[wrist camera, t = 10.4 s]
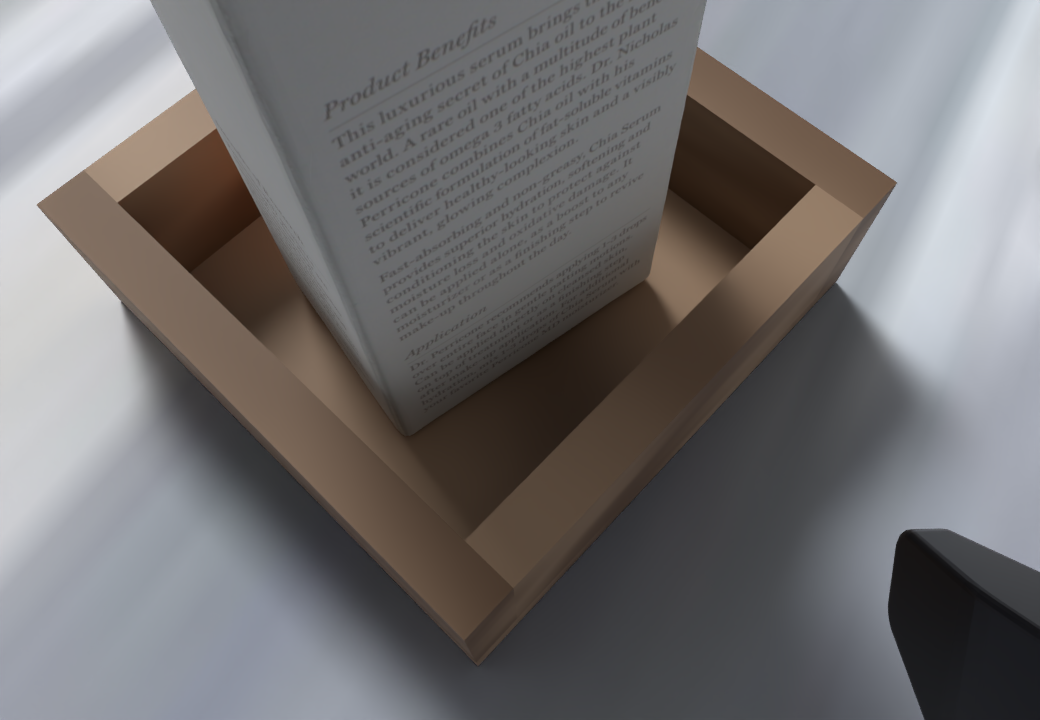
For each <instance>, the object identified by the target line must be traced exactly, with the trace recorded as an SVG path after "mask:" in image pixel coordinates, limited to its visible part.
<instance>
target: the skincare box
mask: <svg viewBox="0 0 1040 720" xmlns="http://www.w3.org/2000/svg"><path fill="white" fill-rule="evenodd" d="M150 1H151V3H152V5H153V7H154V9H155V11H156V13H157V15H158V17H159V19H160V20H161V22H162V24H163V26H164V28H165V30H166V32H167V34H168V36H169V38H170V40H171V42H172V44H173V46H174V48H175V50H176V51H177V53H178V55H179V57H180V59H181V61H182V63H183V65H184V67H185V69H186V71H187V72H188V74H189V76H190V78H191V80H192V82H193V84H194V86H195V88H196V90H197V92H198V93H199V95H200V97H201V99H202V101H203V103H204V105H205V107H206V109H207V111H208V112H209V114H210V116H211V118H212V120H213V122H214V124H215V126H216V128H217V130H218V132H219V134H220V136H221V138H222V140H223V142H224V144H225V146H226V148H227V150H228V152H229V154H230V155H231V157H232V159H233V161H234V163H235V165H236V167H237V169H238V171H239V173H240V175H241V177H242V179H243V181H244V182H245V184H246V186H247V188H248V190H249V192H250V194H251V196H252V198H253V200H254V202H255V204H256V206H257V208H258V210H259V212H260V213H261V215H262V217H263V219H264V221H265V223H266V225H267V227H268V229H269V231H270V233H271V235H272V237H273V239H274V240H275V242H276V244H277V246H278V248H279V250H280V252H281V254H282V256H283V258H284V260H285V262H286V264H287V266H288V268H289V270H290V272H291V274H292V276H293V278H294V279H295V281H296V283H297V285H298V286H299V287H300V289H301V290H302V292H303V293H304V295H305V296H306V297H307V299H308V300H309V302H310V303H311V305H312V306H313V308H314V309H315V310H316V312H317V313H318V315H319V316H320V318H321V319H322V321H323V322H324V323H325V325H326V326H327V328H328V329H329V331H330V332H331V334H332V335H333V337H334V338H335V340H336V341H337V343H338V344H339V346H340V347H341V349H342V350H343V352H344V353H345V355H346V356H347V358H348V359H349V361H350V362H351V364H352V365H353V367H354V368H355V369H356V371H357V372H358V374H359V375H360V377H361V378H362V380H363V381H364V383H365V384H366V386H367V387H368V389H369V390H370V392H371V393H372V394H373V396H374V397H375V399H376V400H377V402H378V403H379V405H380V406H381V407H382V409H383V410H384V412H385V413H386V415H387V416H388V418H389V419H390V420H391V422H392V423H393V424H394V426H395V427H396V428H397V429H398V431H399V432H400V433H401V434H403V435H404V436H411V435H413V434H414V433H416V432H417V431H419V430H420V429H422V428H423V427H424V426H426V425H427V424H429V423H430V422H432V421H433V420H435V419H436V418H438V417H439V416H441V415H442V414H444V413H445V412H447V411H448V410H450V409H451V408H453V407H454V406H456V405H457V404H459V403H460V402H462V401H463V400H465V399H466V398H468V397H469V396H471V395H472V394H474V393H475V392H477V391H478V390H480V389H481V388H483V387H484V386H486V385H487V384H489V383H490V382H492V381H493V380H495V379H496V378H498V377H499V376H501V375H502V374H504V373H505V372H507V371H508V370H510V369H511V368H513V367H514V366H516V365H517V364H519V363H521V362H522V361H524V360H525V359H527V358H528V357H530V356H531V355H533V354H534V353H535V352H537V351H538V350H540V349H541V348H543V347H544V346H546V345H547V344H549V343H550V342H552V341H553V340H555V339H556V338H558V337H559V336H561V335H562V334H564V333H565V332H567V331H568V330H570V329H571V328H573V327H574V326H576V325H577V324H579V323H580V322H582V321H583V320H585V319H586V318H588V317H589V316H591V315H592V314H594V313H595V312H597V311H598V310H600V309H601V308H603V307H604V306H605V305H607V304H608V303H610V302H611V301H613V300H615V299H616V298H618V297H619V296H621V295H622V294H624V293H626V292H627V291H629V290H630V289H632V288H633V287H635V286H636V285H638V284H639V283H641V282H643V281H644V280H645V279H646V278H647V277H648V276H649V274H650V271H651V266H652V260H653V256H654V251H655V246H656V242H657V239H658V233H659V228H660V223H661V219H662V214H663V209H664V204H665V200H666V195H667V190H668V185H669V179H670V174H671V169H672V165H673V160H674V154H675V149H676V145H677V140H678V135H679V130H680V125H681V120H682V116H683V112H684V107H685V101H686V96H687V92H688V88H689V83H690V79H691V74H692V69H693V64H694V59H695V55H696V50H697V44H698V38H699V34H700V29H701V24H702V20H703V15H704V11H705V6H706V2H707V0H150Z"/></svg>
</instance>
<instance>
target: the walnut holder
mask: <svg viewBox="0 0 1040 720" xmlns="http://www.w3.org/2000/svg"><path fill="white" fill-rule="evenodd" d="M896 184H897V182H896V181H894V180H893V179H891V178H890V177H888V176H887V175H885V174H884V173H882V172H881V171H879V170H878V169H876V168H875V167H873V166H872V165H871V164H869V163H868V162H866V161H865V160H863V159H862V158H860V157H859V156H857V155H856V154H854V153H853V152H851V151H850V150H848V149H847V148H845V147H844V146H843V145H841V144H840V143H838V142H837V141H835V140H834V139H832V138H831V137H829V136H828V135H826V134H825V133H823V132H822V131H820V130H819V129H817V128H816V127H815V126H813V125H812V124H810V123H809V122H807V121H806V120H804V119H803V118H801V117H800V116H798V115H797V114H795V113H794V112H792V111H791V110H789V109H788V108H787V107H785V106H784V105H782V104H781V103H779V102H778V101H776V100H775V99H773V98H772V97H770V96H769V95H767V94H766V93H764V92H763V91H761V90H760V89H758V88H757V87H756V86H754V85H753V84H751V83H750V82H748V81H747V80H745V79H744V78H742V77H741V76H739V75H738V74H736V73H735V72H733V71H732V70H730V69H729V68H728V67H726V66H725V65H723V64H722V63H720V62H719V61H717V60H716V59H714V58H713V57H711V56H710V55H708V54H707V53H705V52H704V51H702V50H701V49H700V48H698V47H697V50H696V55H695V59H694V64H693V69H692V74H691V79H690V83H689V88H688V92H687V96H686V101H685V107H684V112H683V116H682V120H681V125H680V130H679V135H678V140H677V145H676V149H675V154H674V160H673V165H672V169H671V174H670V179H669V185H668V190H667V195H666V200H665V204H664V209H663V214H662V219H661V223H660V228H659V233H658V239H657V242H656V246H655V251H654V256H653V260H652V266H651V271H650V274H649V276H648V277H647V278H646V279H645V280H644V281H643V282H641V283H639V284H638V285H636V286H635V287H633V288H632V289H630V290H629V291H627V292H626V293H624V294H622V295H621V296H619V297H618V298H616V299H615V300H613V301H611V302H610V303H608V304H607V305H605V306H604V307H603V308H601V309H600V310H598V311H597V312H595V313H594V314H592V315H591V316H589V317H588V318H586V319H585V320H583V321H582V322H580V323H579V324H577V325H576V326H574V327H573V328H571V329H570V330H568V331H567V332H565V333H564V334H562V335H561V336H559V337H558V338H556V339H555V340H553V341H552V342H550V343H549V344H547V345H546V346H544V347H543V348H541V349H540V350H538V351H537V352H535V353H534V354H533V355H531V356H530V357H528V358H527V359H525V360H524V361H522V362H521V363H519V364H517V365H516V366H514V367H513V368H511V369H510V370H508V371H507V372H505V373H504V374H502V375H501V376H499V377H498V378H496V379H495V380H493V381H492V382H490V383H489V384H487V385H486V386H484V387H483V388H481V389H480V390H478V391H477V392H475V393H474V394H472V395H471V396H469V397H468V398H466V399H465V400H463V401H462V402H460V403H459V404H457V405H456V406H454V407H453V408H451V409H450V410H448V411H447V412H445V413H444V414H442V415H441V416H439V417H438V418H436V419H435V420H433V421H432V422H430V423H429V424H427V425H426V426H424V427H423V428H422V429H420V430H419V431H417V432H416V433H414V434H413V435H411V436H404V435H403V434H401V433H400V432H399V431H398V429H397V428H396V427H395V426H394V424H393V423H392V422H391V420H390V419H389V418H388V416H387V415H386V413H385V412H384V410H383V409H382V407H381V406H380V405H379V403H378V402H377V400H376V399H375V397H374V396H373V394H372V393H371V392H370V390H369V389H368V387H367V386H366V384H365V383H364V381H363V380H362V378H361V377H360V375H359V374H358V372H357V371H356V369H355V368H354V367H353V365H352V364H351V362H350V361H349V359H348V358H347V356H346V355H345V353H344V352H343V350H342V349H341V347H340V346H339V344H338V343H337V341H336V340H335V338H334V337H333V335H332V334H331V332H330V331H329V329H328V328H327V326H326V325H325V323H324V322H323V321H322V319H321V318H320V316H319V315H318V313H317V312H316V310H315V309H314V308H313V306H312V305H311V303H310V302H309V300H308V299H307V297H306V296H305V295H304V293H303V292H302V290H301V289H300V287H299V286H298V285H297V283H296V281H295V279H294V278H293V276H292V274H291V272H290V270H289V268H288V266H287V264H286V262H285V260H284V258H283V256H282V254H281V252H280V250H279V248H278V246H277V244H276V242H275V240H274V239H273V237H272V235H271V233H270V231H269V229H268V227H267V225H266V223H265V221H264V219H263V217H262V215H261V213H260V212H259V210H258V208H257V206H256V204H255V202H254V200H253V198H252V196H251V194H250V192H249V190H248V188H247V186H246V184H245V182H244V181H243V179H242V177H241V175H240V173H239V171H238V169H237V167H236V165H235V163H234V161H233V159H232V157H231V155H230V154H229V152H228V150H227V148H226V146H225V144H224V142H223V140H222V138H221V136H220V134H219V132H218V130H217V128H216V126H215V124H214V122H213V120H212V118H211V116H210V114H209V112H208V111H207V109H206V107H205V105H204V103H203V101H202V99H201V97H200V95H199V93H198V92H197V90H196V89H195V90H193V91H192V92H190V93H189V94H188V95H186V96H185V97H184V98H182V99H181V100H179V101H178V102H177V103H175V104H174V105H173V106H171V107H170V108H168V109H167V110H166V111H164V112H163V113H162V114H160V115H159V116H157V117H156V118H155V119H153V120H152V121H151V122H149V123H148V124H146V125H145V126H144V127H142V128H141V129H140V130H138V131H137V132H136V133H134V134H133V135H131V136H130V137H129V138H127V139H126V140H125V141H123V142H122V143H120V144H119V145H118V146H116V147H115V148H114V149H112V150H111V151H109V152H108V153H107V154H105V155H104V156H103V157H101V158H100V159H98V160H97V161H96V162H94V163H93V164H92V165H90V166H89V167H88V168H86V169H85V170H83V171H82V172H81V173H79V174H78V175H77V176H75V177H74V178H72V179H71V180H70V181H68V182H67V183H66V184H64V185H63V186H61V187H60V188H59V189H57V190H56V191H55V192H53V193H52V194H50V195H49V196H48V197H46V198H45V199H44V200H42V201H41V202H39V203H38V204H37V206H38V207H39V208H40V209H41V211H42V212H43V213H44V214H45V215H46V216H47V217H48V219H49V220H50V221H51V222H52V223H53V224H54V225H55V227H56V228H57V229H58V230H59V231H60V232H61V233H62V234H63V236H64V237H65V238H66V239H67V240H68V241H69V242H70V244H71V245H72V246H73V247H74V248H75V249H76V250H77V252H78V253H79V254H80V255H81V256H82V257H83V258H84V260H85V261H86V262H87V263H88V264H89V265H90V266H91V267H92V269H93V270H94V271H95V272H96V273H97V274H98V275H99V277H100V278H101V279H102V280H103V281H104V282H105V283H106V285H107V286H108V287H109V288H110V289H111V290H112V291H113V293H114V294H115V295H116V296H117V297H118V298H119V299H120V300H121V301H122V302H123V303H124V304H125V305H126V306H127V307H128V309H129V310H130V311H131V312H132V313H133V314H134V315H135V316H136V317H137V318H138V319H139V320H140V321H141V322H142V323H143V324H144V325H145V326H146V327H147V328H148V329H149V330H150V331H151V332H152V333H153V334H154V335H155V336H156V337H157V338H158V339H159V340H160V341H161V342H162V343H163V344H164V345H165V346H166V347H167V348H168V349H169V350H170V352H171V353H172V354H173V355H174V356H175V357H176V358H177V359H178V360H179V361H180V362H181V363H182V364H183V365H184V366H185V367H186V368H187V369H188V370H189V371H190V372H191V373H192V374H193V375H194V376H195V377H196V378H197V379H198V380H199V381H200V382H201V383H202V384H203V385H204V386H205V387H206V388H207V389H208V390H209V391H210V392H211V393H212V394H213V396H214V397H215V398H216V399H217V400H218V401H219V402H220V403H221V404H222V405H223V406H224V407H225V408H226V409H227V410H228V411H229V412H230V413H231V414H232V415H233V416H234V417H235V418H236V419H237V420H238V421H239V422H240V423H241V424H242V425H243V426H244V427H245V428H246V429H247V430H248V431H249V432H250V433H251V434H252V435H253V436H254V437H255V439H256V440H257V441H258V442H259V443H260V444H261V445H262V446H263V447H264V448H265V449H266V450H267V451H268V452H269V453H270V454H271V455H272V456H273V457H274V458H275V459H276V460H277V461H278V462H279V463H280V464H281V465H282V466H283V467H284V468H285V469H286V470H287V471H288V472H289V473H290V474H291V475H292V476H293V477H294V478H295V479H296V480H297V482H298V483H299V484H300V485H301V486H302V487H303V488H304V489H305V490H306V491H307V492H308V493H309V494H310V495H311V496H312V497H313V498H314V499H315V500H316V501H317V502H318V503H319V504H320V505H321V506H322V507H323V508H324V509H325V510H326V511H327V512H328V513H329V514H330V515H331V516H332V517H333V518H334V519H335V520H336V521H337V522H338V523H339V525H340V526H341V527H342V528H343V529H344V530H345V531H346V532H347V533H348V534H349V535H350V536H351V537H352V538H353V539H354V540H355V541H356V542H357V543H358V544H359V545H360V546H361V547H362V548H363V549H364V550H365V551H366V552H367V553H368V554H369V555H370V556H371V557H372V558H373V559H374V560H375V561H376V562H377V563H378V564H379V565H380V566H381V568H382V569H383V570H384V571H385V572H386V573H387V574H388V575H389V576H390V577H391V578H392V579H393V580H394V581H395V582H396V583H397V584H398V585H399V586H400V587H401V588H402V589H403V590H404V591H405V592H406V593H407V594H408V595H409V596H410V597H411V598H412V599H413V600H414V601H415V602H416V603H417V604H418V605H419V606H420V607H421V608H422V609H423V611H424V612H425V613H426V614H427V615H428V616H429V617H430V618H431V619H432V620H433V621H434V622H435V623H436V624H437V625H438V626H439V627H440V628H441V629H442V630H443V631H444V632H445V633H446V634H447V635H448V636H449V637H450V638H451V639H452V640H453V641H454V642H455V643H456V644H457V645H458V646H459V647H460V648H461V649H462V650H463V651H464V652H465V653H466V655H467V656H468V657H469V658H470V659H471V660H472V661H473V662H474V663H475V664H476V665H477V666H479V665H480V664H481V663H482V662H483V661H484V660H485V658H486V657H487V656H488V655H489V654H490V653H491V652H492V651H493V650H494V649H495V648H496V647H497V646H498V644H499V643H500V642H501V641H502V640H503V639H504V638H505V637H506V636H507V635H508V634H509V633H510V632H511V630H512V629H513V628H514V627H515V626H516V625H517V624H518V623H519V622H520V621H521V620H522V619H523V618H524V617H525V615H526V614H527V613H528V612H529V611H530V610H531V609H532V608H533V607H534V606H535V605H536V604H537V603H538V601H539V600H540V599H541V598H542V597H543V596H544V595H545V594H546V593H547V592H548V591H549V590H550V589H551V587H552V586H553V585H554V584H555V583H556V582H557V581H558V580H559V579H560V578H561V577H562V576H563V575H564V574H565V572H566V571H567V570H568V569H569V568H570V567H571V566H572V565H573V564H574V563H575V562H576V561H577V560H578V558H579V557H580V556H581V555H582V554H583V553H584V552H585V551H586V550H587V549H588V548H589V547H590V546H591V544H592V543H593V542H594V541H595V540H596V539H597V538H598V537H599V536H600V535H601V534H602V533H603V532H604V531H605V529H606V528H607V527H608V526H609V525H610V524H611V523H612V522H613V521H614V520H615V519H616V518H617V517H618V515H619V514H620V513H621V512H622V511H623V510H624V509H625V508H626V507H627V506H628V505H629V504H630V503H631V501H632V500H633V499H634V498H635V497H636V496H637V495H638V494H639V493H640V492H641V491H642V490H643V489H644V488H645V486H646V485H647V484H648V483H649V482H650V481H651V480H652V479H653V478H654V477H655V476H656V475H657V474H658V472H659V471H660V470H661V469H662V468H663V467H664V466H665V465H666V464H667V463H668V462H669V461H670V460H671V458H672V457H673V456H674V455H675V454H676V453H677V452H678V451H679V450H680V449H681V448H682V447H683V446H684V445H685V443H686V442H687V441H688V440H689V439H690V438H691V437H692V436H693V435H694V434H695V433H696V432H697V431H698V429H699V428H700V427H701V426H702V425H703V424H704V423H705V422H706V421H707V420H708V419H709V418H710V417H711V415H712V414H713V413H714V412H715V411H716V410H717V409H718V408H719V407H720V406H721V405H722V404H723V403H724V402H725V400H726V399H727V398H728V397H729V396H730V395H731V394H732V393H733V392H734V391H735V390H736V389H737V388H738V386H739V385H740V384H741V383H742V382H743V381H744V380H745V379H746V378H747V377H748V376H749V375H750V374H751V372H752V371H753V370H754V369H755V368H756V367H757V366H758V365H759V364H760V363H761V362H762V361H763V360H764V358H765V357H766V356H767V355H768V354H769V353H770V352H771V351H772V350H773V349H774V348H775V347H776V346H777V345H778V343H779V342H780V341H781V340H782V339H783V338H784V337H785V336H786V335H787V334H788V333H789V332H790V331H791V329H792V328H793V327H794V326H795V325H796V324H797V323H798V322H799V321H800V320H801V319H802V318H803V317H804V315H805V314H806V313H807V312H808V311H809V310H810V309H811V308H812V307H813V306H814V305H815V304H816V303H817V302H818V300H819V299H820V298H821V297H822V296H823V295H824V294H825V293H826V292H827V291H828V290H829V289H830V288H831V286H832V285H833V284H834V283H835V282H836V281H837V280H838V278H839V276H840V275H841V273H842V271H843V270H844V268H845V267H846V265H847V263H848V262H849V260H850V259H851V257H852V255H853V254H854V252H855V250H856V249H857V247H858V246H859V244H860V242H861V241H862V239H863V237H864V236H865V234H866V233H867V231H868V229H869V228H870V226H871V224H872V223H873V221H874V220H875V218H876V216H877V215H878V213H879V211H880V210H881V208H882V207H883V205H884V203H885V202H886V200H887V198H888V197H889V195H890V194H891V192H892V190H893V189H894V187H895V186H896Z"/></svg>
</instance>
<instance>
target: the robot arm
mask: <svg viewBox="0 0 1040 720" xmlns="http://www.w3.org/2000/svg"><path fill="white" fill-rule="evenodd" d="M888 615H889V622H890V626H891V630H892V633H893V635H894V638H895V641H896V643H897V646H898V649H899V652H900V654H901V657H902V660H903V663H904V665H905V668H906V671H907V673H908V676H909V679H910V682H911V684H912V687H913V690H914V692H915V695H916V698H917V701H918V703H919V706H920V709H921V711H922V714H923V717H924V720H1040V572H1038V571H1036V570H1034V569H1032V568H1030V567H1028V566H1025V565H1023V564H1021V563H1019V562H1017V561H1015V560H1013V559H1010V558H1008V557H1006V556H1004V555H1002V554H1000V553H998V552H995V551H993V550H991V549H989V548H987V547H985V546H982V545H980V544H978V543H976V542H974V541H972V540H970V539H967V538H965V537H963V536H961V535H959V534H957V533H955V532H952V531H950V530H947V529H910V530H906V531H904V532H903V533H902V534H901V535H900V536H899V539H898V541H897V544H896V549H895V557H894V564H893V571H892V579H891V586H890V593H889V601H888Z"/></svg>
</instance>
